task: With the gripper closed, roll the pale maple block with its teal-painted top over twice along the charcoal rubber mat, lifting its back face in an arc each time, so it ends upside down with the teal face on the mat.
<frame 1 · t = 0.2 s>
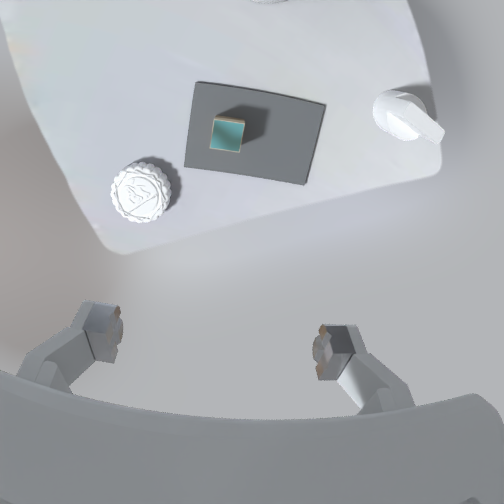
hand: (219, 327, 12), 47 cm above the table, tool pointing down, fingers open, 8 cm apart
maple block: (227, 130, 51), point 1 cm above the table, touching rubber mat
white cylinder with post: (392, 111, 50), on the table
rubber mat: (252, 133, 52), on the table
white mooncake: (143, 189, 58), on the table
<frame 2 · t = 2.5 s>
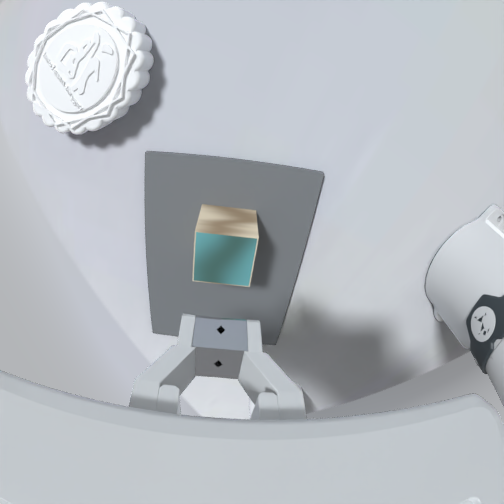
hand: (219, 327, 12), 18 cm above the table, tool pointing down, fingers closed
maple block: (226, 230, 29), point 1 cm above the table, touching rubber mat
rubber mat: (221, 265, 32), on the table
white mooncake: (93, 66, 21), on the table
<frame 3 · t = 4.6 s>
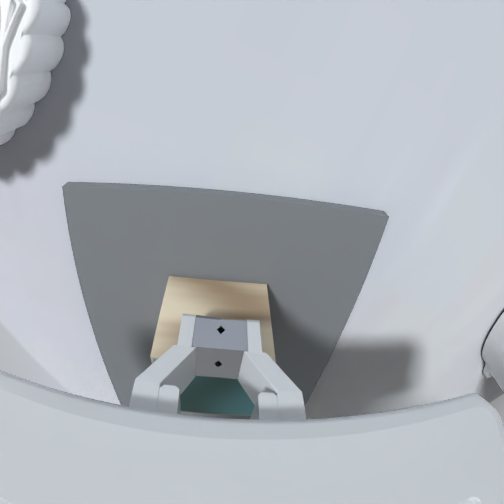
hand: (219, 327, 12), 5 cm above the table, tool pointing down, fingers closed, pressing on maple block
maple block: (215, 314, 17), point 1 cm above the table, touching gripper, rubber mat
rubber mat: (212, 353, 20), on the table
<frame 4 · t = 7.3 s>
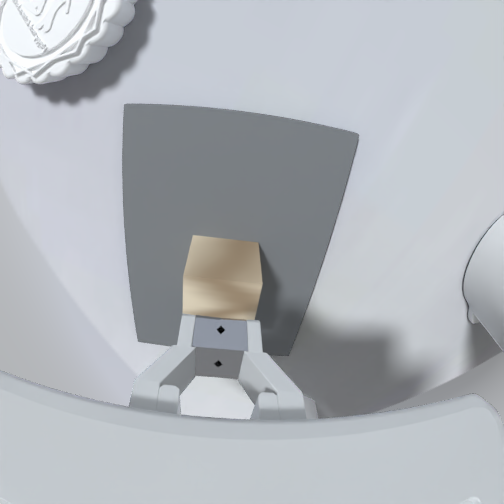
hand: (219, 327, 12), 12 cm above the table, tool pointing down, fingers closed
maple block: (224, 257, 21), point 3 cm above the table, tilted 90°, touching rubber mat
rubber mat: (223, 256, 25), on the table
white mooncake: (69, 8, 13), on the table
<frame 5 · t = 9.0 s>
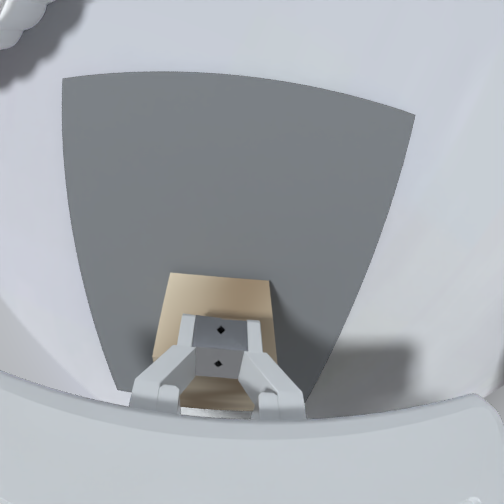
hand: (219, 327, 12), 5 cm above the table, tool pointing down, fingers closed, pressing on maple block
maple block: (217, 314, 13), point 4 cm above the table, tilted 95°, touching gripper, rubber mat
rubber mat: (218, 293, 17), on the table
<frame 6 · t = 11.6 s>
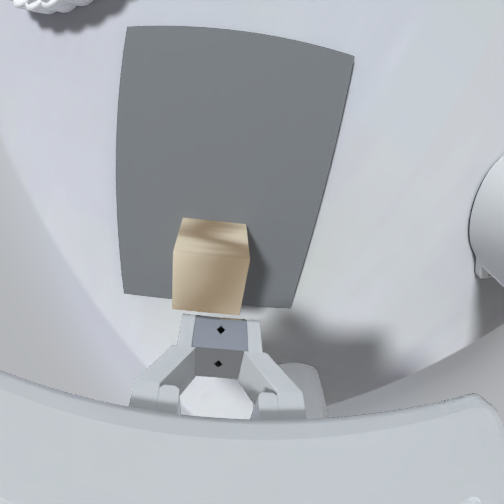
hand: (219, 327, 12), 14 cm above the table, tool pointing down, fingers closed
maple block: (208, 286, 21), point 6 cm above the table, tilted 180°, touching rubber mat
white cylinder with post: (285, 381, 38), on the table
rubber mat: (219, 182, 23), on the table
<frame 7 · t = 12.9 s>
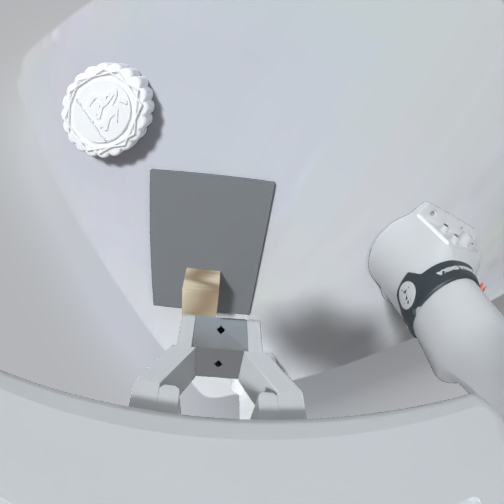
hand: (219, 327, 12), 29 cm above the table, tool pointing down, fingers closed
maple block: (199, 304, 42), point 6 cm above the table, tilted 180°, touching rubber mat
white cylinder with post: (253, 361, 59), on the table
rubber mat: (205, 250, 44), on the table
white mooncake: (111, 107, 33), on the table
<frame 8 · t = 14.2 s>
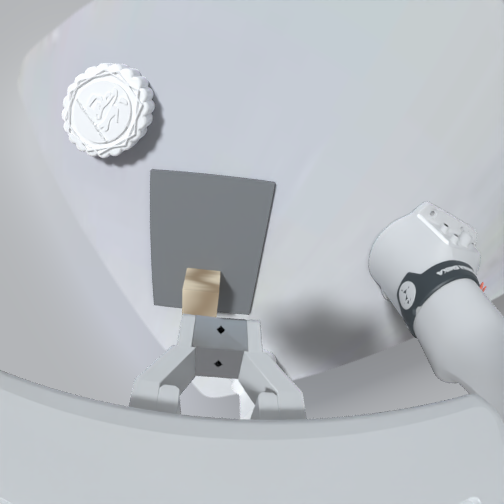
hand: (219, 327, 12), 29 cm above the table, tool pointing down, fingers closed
maple block: (199, 304, 42), point 6 cm above the table, tilted 180°, touching rubber mat
white cylinder with post: (253, 361, 59), on the table
rubber mat: (205, 250, 44), on the table
white mooncake: (111, 107, 33), on the table
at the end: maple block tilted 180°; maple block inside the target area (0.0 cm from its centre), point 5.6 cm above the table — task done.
